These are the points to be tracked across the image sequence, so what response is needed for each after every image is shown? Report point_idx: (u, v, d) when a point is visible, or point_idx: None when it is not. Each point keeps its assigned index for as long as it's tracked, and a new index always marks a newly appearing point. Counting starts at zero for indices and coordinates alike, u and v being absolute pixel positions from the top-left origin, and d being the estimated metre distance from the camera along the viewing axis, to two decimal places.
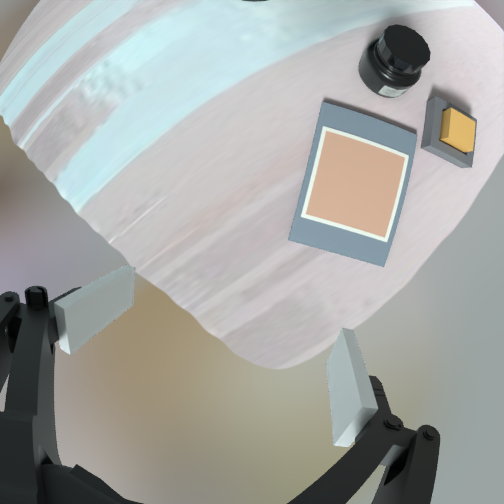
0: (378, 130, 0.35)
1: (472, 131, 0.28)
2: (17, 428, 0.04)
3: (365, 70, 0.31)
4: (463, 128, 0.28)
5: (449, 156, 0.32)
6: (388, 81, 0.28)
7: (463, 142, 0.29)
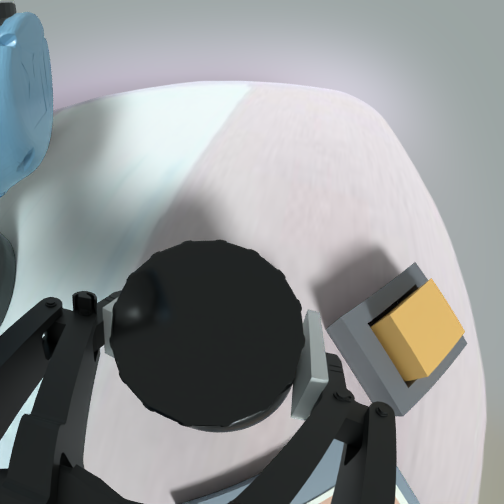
0: None
1: (442, 302, 0.16)
2: (40, 434, 0.04)
3: None
4: (431, 321, 0.15)
5: None
6: (244, 428, 0.12)
7: (448, 343, 0.14)
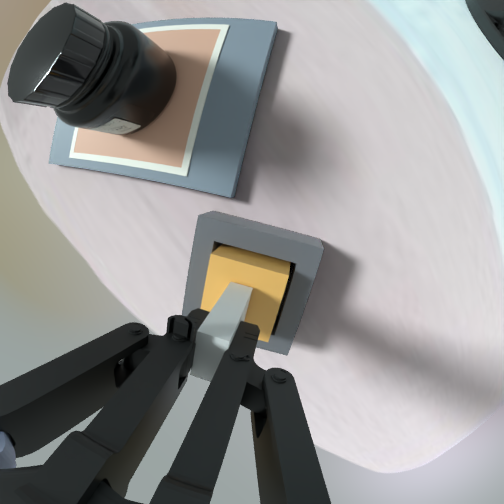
0: (228, 111, 0.19)
1: None
2: (84, 457, 0.04)
3: None
4: None
5: None
6: None
7: (210, 298, 0.18)
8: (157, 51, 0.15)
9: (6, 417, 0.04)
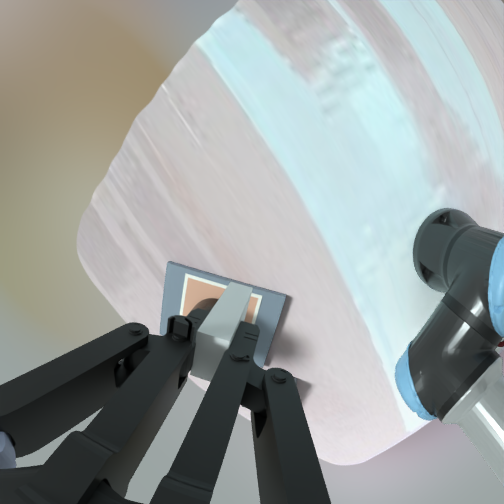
0: (262, 338, 0.49)
1: None
2: (84, 457, 0.04)
3: (199, 306, 0.45)
4: None
5: None
6: None
7: None
8: None
9: (6, 417, 0.04)
